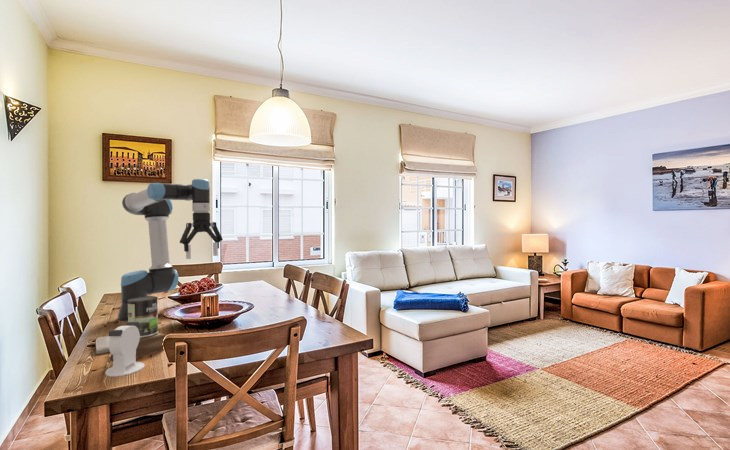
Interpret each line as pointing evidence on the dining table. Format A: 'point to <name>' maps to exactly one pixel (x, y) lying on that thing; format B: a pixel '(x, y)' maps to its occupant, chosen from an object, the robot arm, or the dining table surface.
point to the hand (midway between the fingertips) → (202, 257)
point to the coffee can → (144, 314)
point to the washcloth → (102, 345)
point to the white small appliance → (124, 350)
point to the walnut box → (150, 344)
